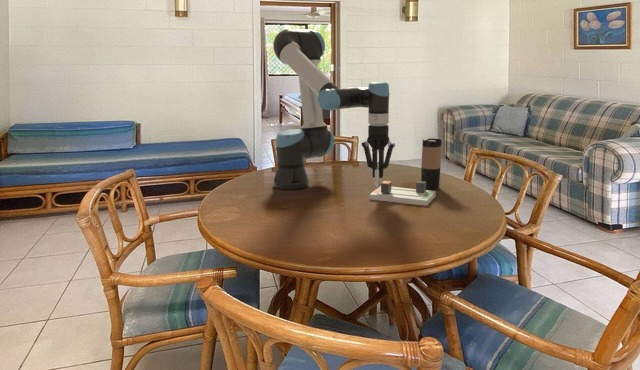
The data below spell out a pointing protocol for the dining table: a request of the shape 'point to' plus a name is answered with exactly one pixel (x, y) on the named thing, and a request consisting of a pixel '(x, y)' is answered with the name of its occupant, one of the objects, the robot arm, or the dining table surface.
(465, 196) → the dining table surface
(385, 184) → the breaker handle
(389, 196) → the board
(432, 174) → the travel mug
